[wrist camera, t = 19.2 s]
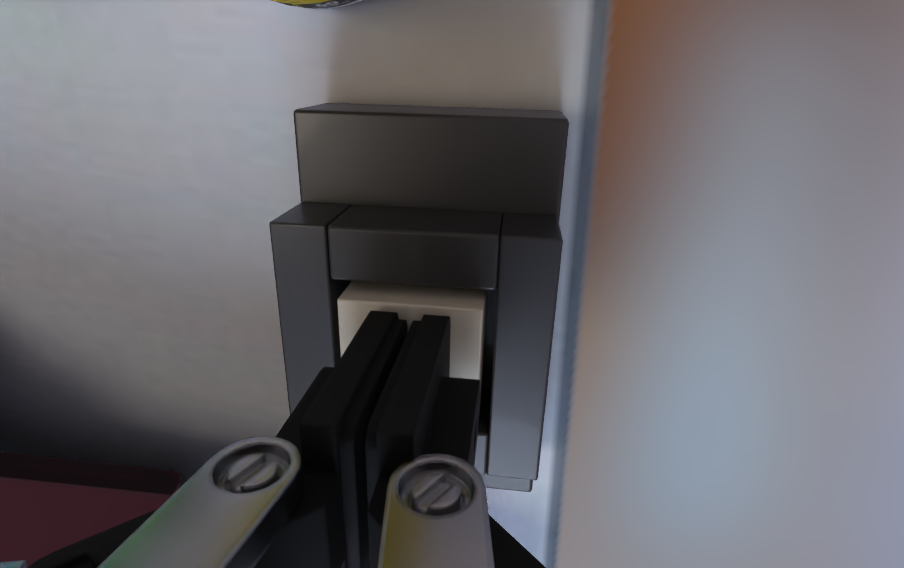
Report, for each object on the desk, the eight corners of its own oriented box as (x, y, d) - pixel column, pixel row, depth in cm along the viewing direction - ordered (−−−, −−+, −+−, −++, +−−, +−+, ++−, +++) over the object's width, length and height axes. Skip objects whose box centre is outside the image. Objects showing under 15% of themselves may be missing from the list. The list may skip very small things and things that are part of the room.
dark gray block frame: (530, 442, 17) (532, 547, 13) (345, 424, 18) (298, 519, 14) (562, 110, 13) (578, 128, 10) (325, 102, 14) (253, 116, 10)
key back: (482, 389, 13) (477, 433, 12) (365, 379, 14) (344, 421, 12) (488, 277, 12) (482, 310, 11) (360, 269, 13) (336, 299, 11)
